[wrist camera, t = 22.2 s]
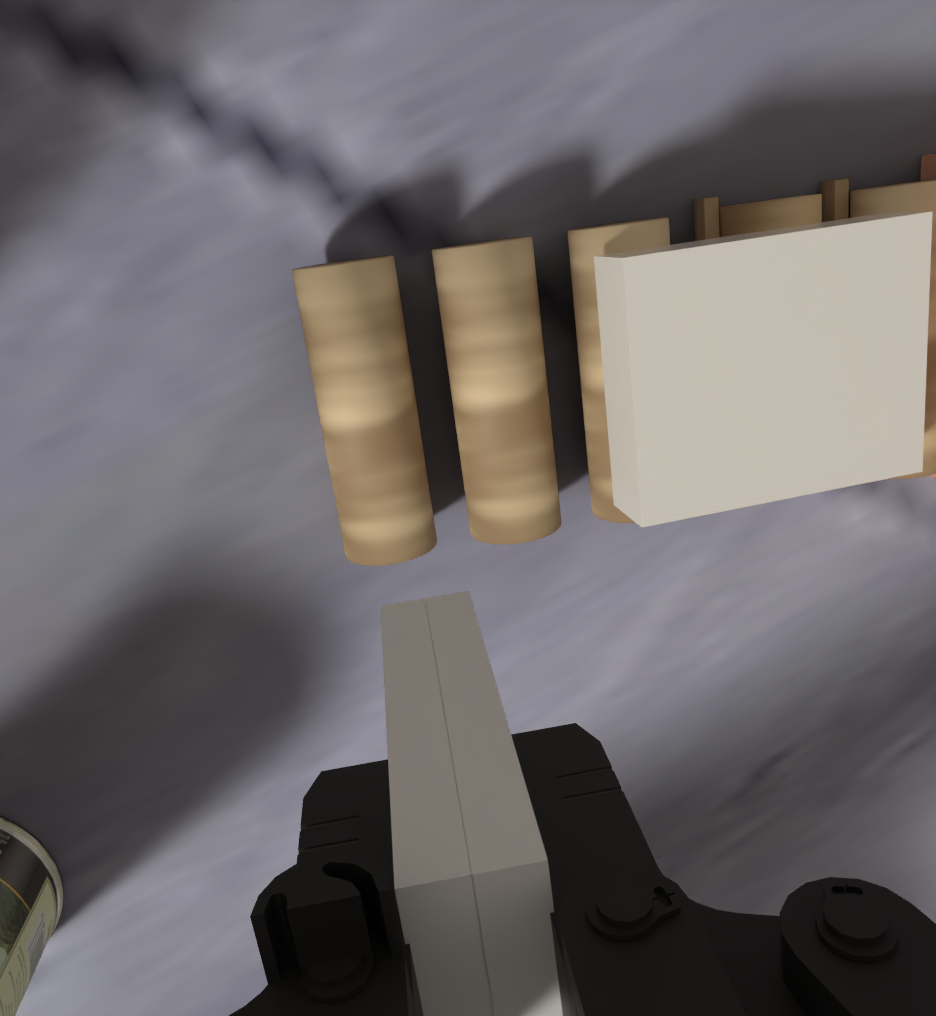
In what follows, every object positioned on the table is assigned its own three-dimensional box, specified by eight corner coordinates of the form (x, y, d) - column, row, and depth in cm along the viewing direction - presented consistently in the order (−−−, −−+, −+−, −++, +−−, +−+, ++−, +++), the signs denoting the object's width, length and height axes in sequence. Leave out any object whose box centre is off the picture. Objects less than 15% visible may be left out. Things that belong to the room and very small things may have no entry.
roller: (730, 466, 42) (819, 464, 41) (724, 494, 38) (822, 492, 37) (721, 205, 38) (819, 193, 37) (714, 208, 35) (823, 195, 33)
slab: (875, 454, 38) (922, 471, 35) (614, 505, 36) (641, 527, 33) (879, 213, 35) (932, 211, 32) (593, 256, 33) (622, 258, 30)
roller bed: (910, 457, 42) (965, 480, 38) (348, 548, 40) (346, 583, 36) (920, 167, 37) (983, 161, 34) (293, 255, 36) (285, 258, 32)
